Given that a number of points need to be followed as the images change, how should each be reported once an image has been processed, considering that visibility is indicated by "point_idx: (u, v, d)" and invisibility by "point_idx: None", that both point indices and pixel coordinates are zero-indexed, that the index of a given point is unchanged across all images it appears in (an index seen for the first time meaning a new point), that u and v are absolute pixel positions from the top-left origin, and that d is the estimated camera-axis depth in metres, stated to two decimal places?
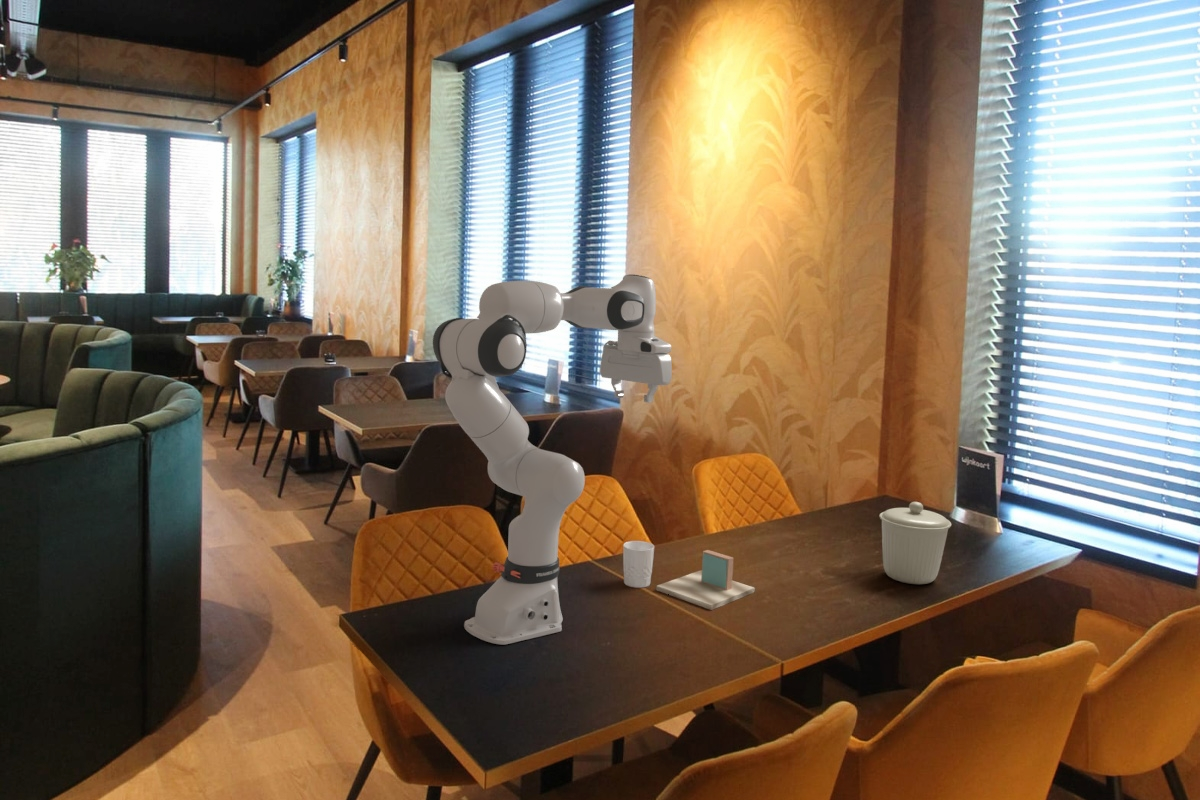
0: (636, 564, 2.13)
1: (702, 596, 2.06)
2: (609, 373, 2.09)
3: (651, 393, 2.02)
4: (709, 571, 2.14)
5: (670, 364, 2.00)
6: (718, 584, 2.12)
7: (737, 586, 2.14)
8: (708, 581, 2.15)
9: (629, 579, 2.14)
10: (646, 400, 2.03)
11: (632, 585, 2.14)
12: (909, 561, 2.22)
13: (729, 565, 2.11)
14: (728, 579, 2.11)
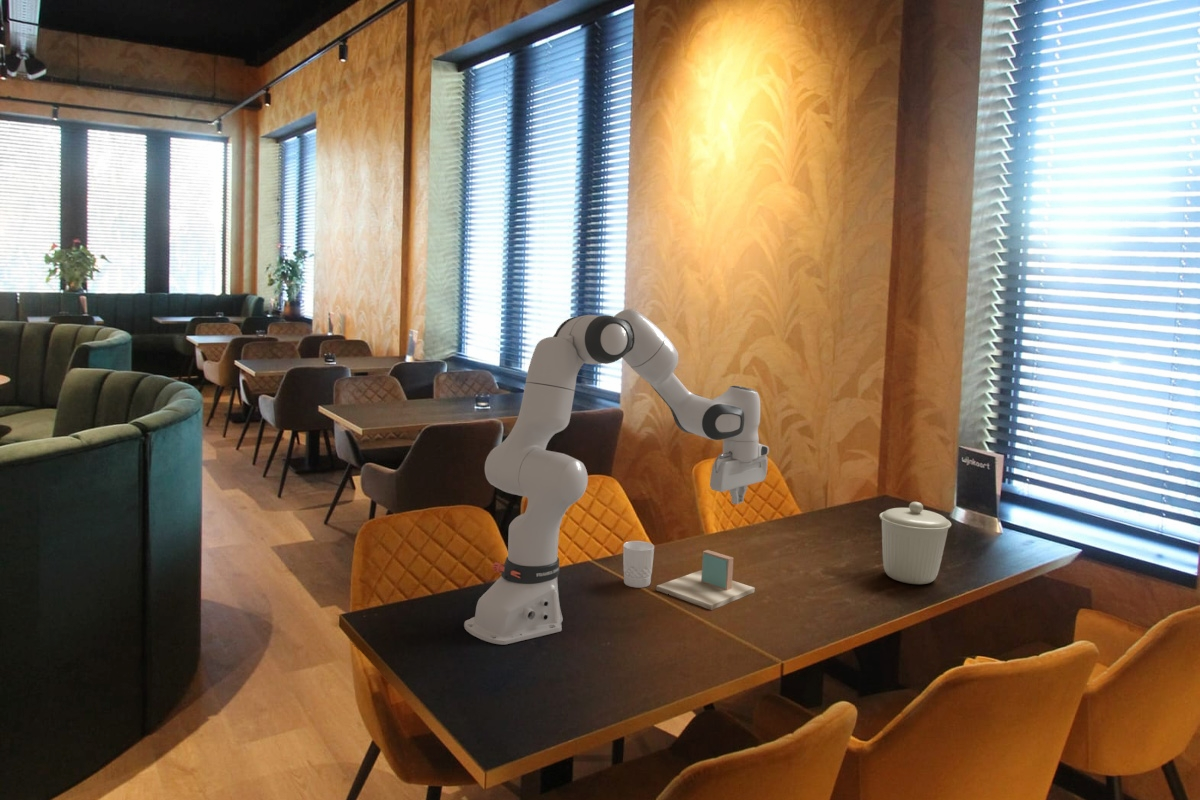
0: (636, 564, 2.13)
1: (702, 596, 2.06)
2: (729, 485, 2.10)
3: None
4: (709, 571, 2.14)
5: None
6: (718, 584, 2.12)
7: (737, 586, 2.14)
8: (708, 581, 2.15)
9: (629, 579, 2.14)
10: (742, 501, 2.17)
11: (632, 585, 2.14)
12: (909, 561, 2.22)
13: (729, 565, 2.11)
14: (728, 579, 2.11)
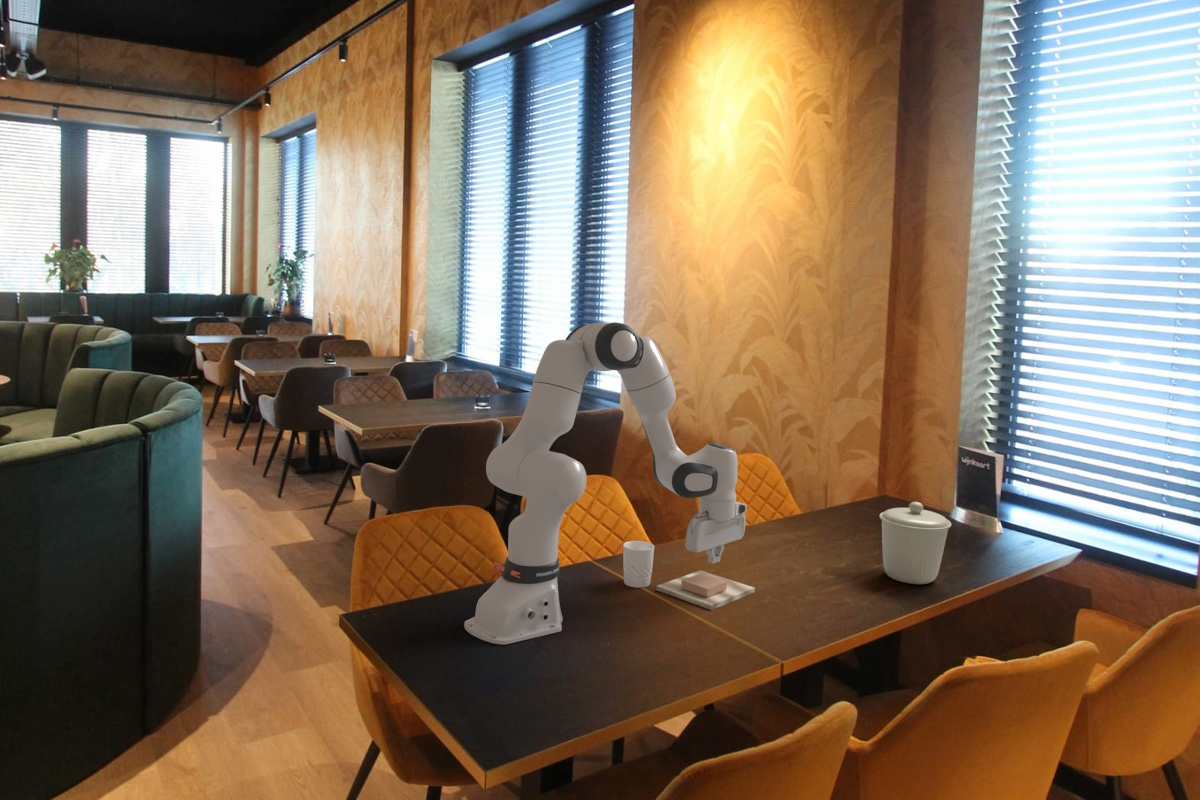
0: (636, 564, 2.13)
1: (702, 596, 2.06)
2: (705, 545, 2.06)
3: None
4: None
5: None
6: None
7: (737, 586, 2.14)
8: None
9: (629, 579, 2.14)
10: (718, 560, 2.13)
11: (632, 585, 2.14)
12: (909, 561, 2.22)
13: (711, 593, 2.06)
14: (720, 590, 2.09)
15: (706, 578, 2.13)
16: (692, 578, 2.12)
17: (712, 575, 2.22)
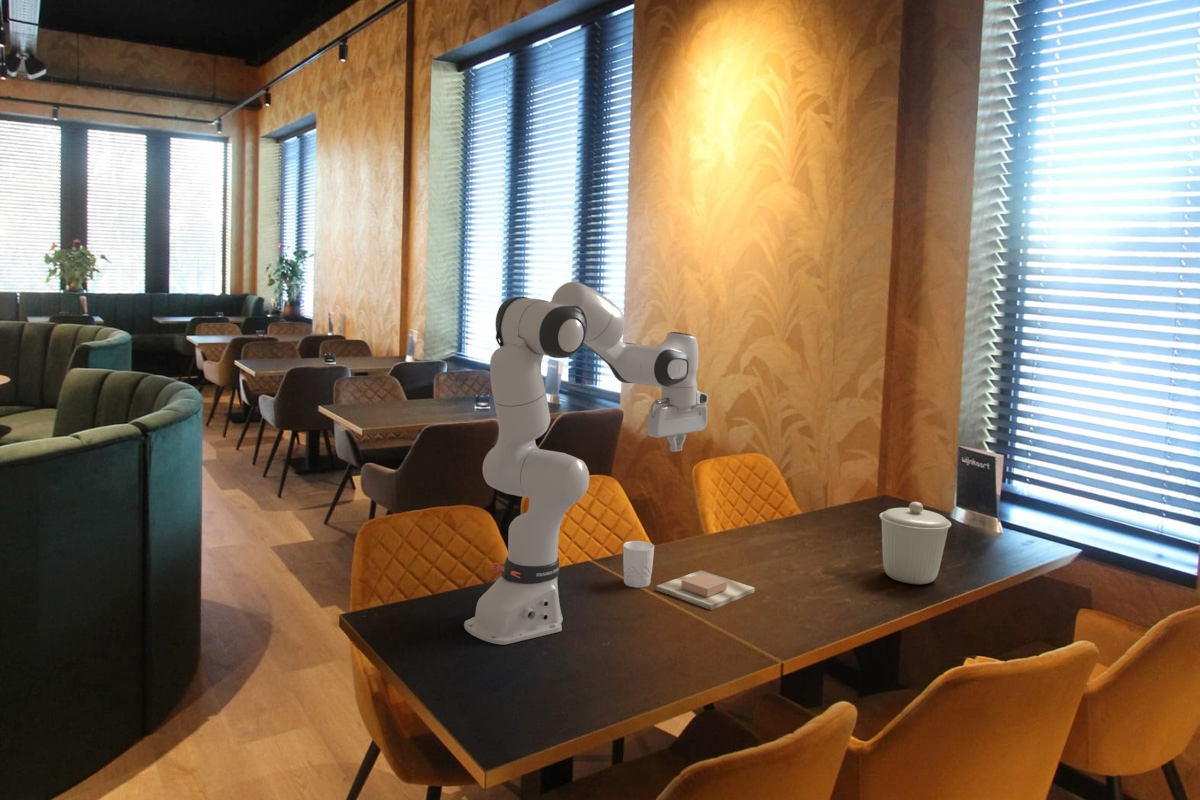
0: (636, 564, 2.13)
1: (702, 596, 2.06)
2: (666, 431, 2.09)
3: None
4: None
5: None
6: None
7: (737, 586, 2.14)
8: None
9: (629, 579, 2.14)
10: (680, 449, 2.15)
11: (632, 585, 2.14)
12: (909, 561, 2.22)
13: (711, 593, 2.06)
14: (720, 590, 2.09)
15: (706, 578, 2.13)
16: (692, 578, 2.12)
17: (712, 575, 2.22)
